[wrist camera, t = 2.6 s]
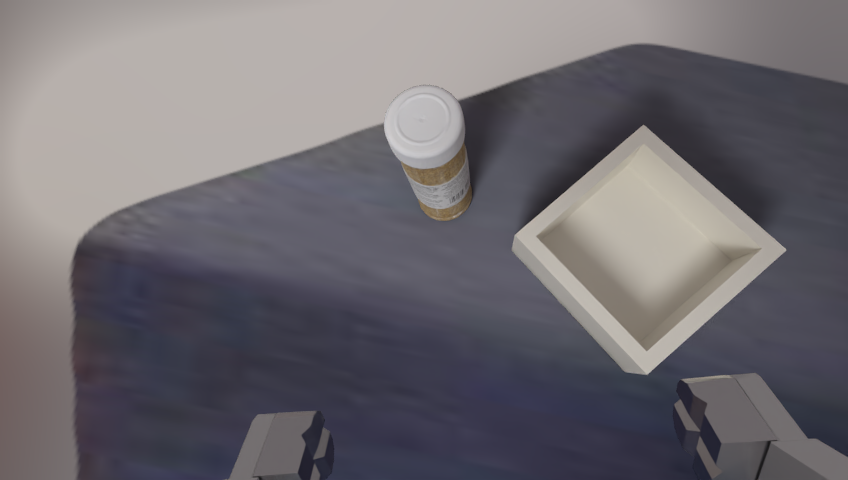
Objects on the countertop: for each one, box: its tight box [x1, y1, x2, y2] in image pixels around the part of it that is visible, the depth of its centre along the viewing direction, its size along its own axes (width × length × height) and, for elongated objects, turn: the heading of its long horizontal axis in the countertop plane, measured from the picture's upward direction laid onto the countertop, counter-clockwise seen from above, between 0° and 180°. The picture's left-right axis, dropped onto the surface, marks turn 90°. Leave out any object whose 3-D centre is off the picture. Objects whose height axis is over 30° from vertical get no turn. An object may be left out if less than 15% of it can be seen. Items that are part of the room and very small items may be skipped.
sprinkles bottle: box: [384, 85, 472, 221], centre depth 33 cm, size 5×5×14 cm
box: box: [512, 125, 786, 375], centre depth 34 cm, size 12×12×5 cm
